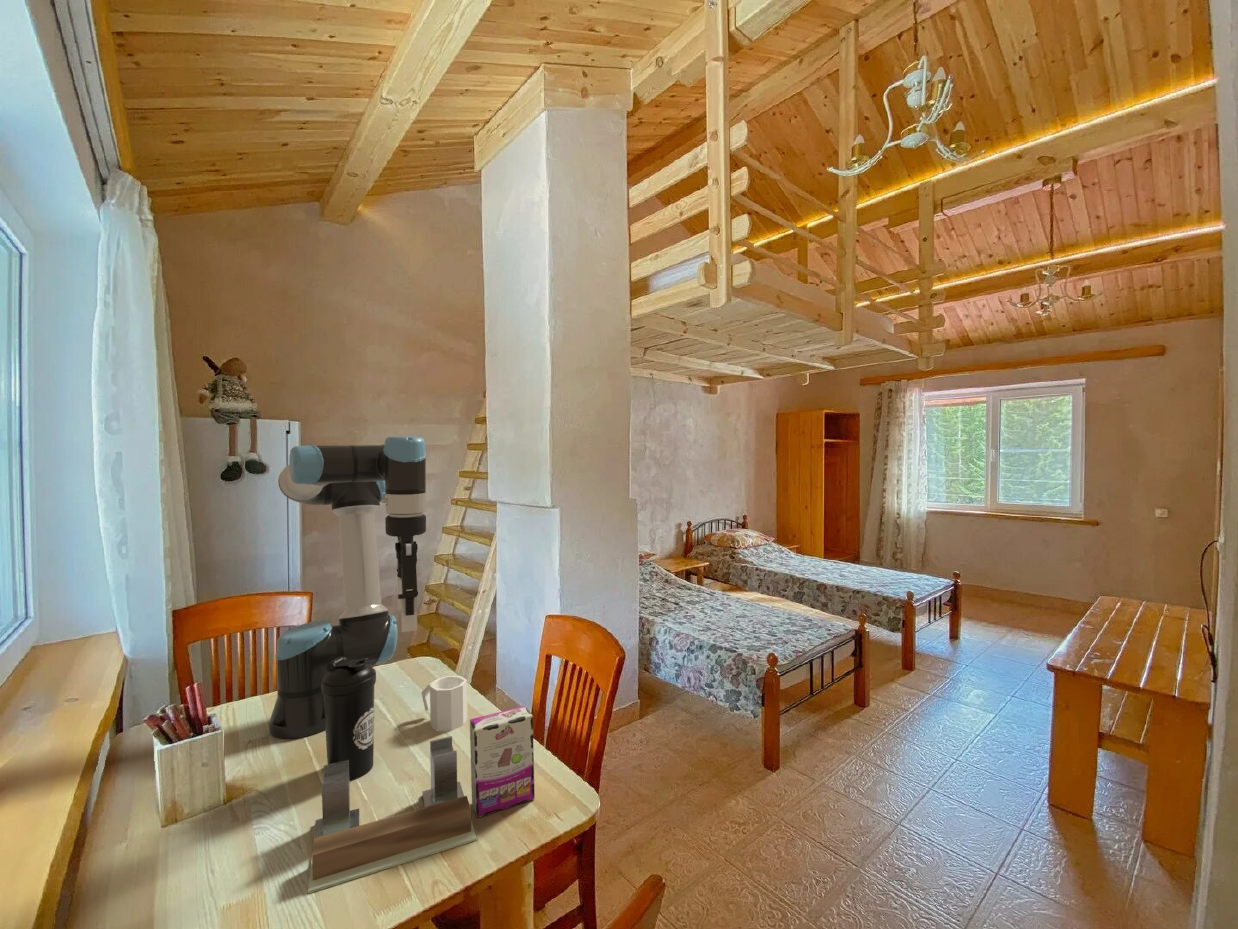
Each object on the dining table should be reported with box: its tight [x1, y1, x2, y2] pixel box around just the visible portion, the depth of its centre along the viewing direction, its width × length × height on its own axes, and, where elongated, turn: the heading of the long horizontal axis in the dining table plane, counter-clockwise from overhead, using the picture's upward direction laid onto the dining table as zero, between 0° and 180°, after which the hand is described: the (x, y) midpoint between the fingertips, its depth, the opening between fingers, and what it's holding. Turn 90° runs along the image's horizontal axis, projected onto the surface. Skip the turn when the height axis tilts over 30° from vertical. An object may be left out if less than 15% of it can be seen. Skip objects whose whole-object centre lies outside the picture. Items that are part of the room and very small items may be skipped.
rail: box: [311, 795, 472, 880], centre depth 90 cm, size 4×24×4 cm, turn 116°
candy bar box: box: [469, 705, 535, 818], centre depth 102 cm, size 11×5×16 cm, turn 118°
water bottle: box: [321, 656, 377, 782], centre depth 112 cm, size 10×10×23 cm
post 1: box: [312, 760, 360, 844], centre depth 94 cm, size 7×7×11 cm
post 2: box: [421, 735, 465, 807], centre depth 102 cm, size 7×7×11 cm
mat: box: [307, 821, 477, 895], centre depth 90 cm, size 8×25×1 cm, turn 116°
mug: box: [421, 675, 468, 732], centre depth 132 cm, size 12×9×10 cm
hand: (406, 619), depth 108 cm, fingers open, 13 cm apart
